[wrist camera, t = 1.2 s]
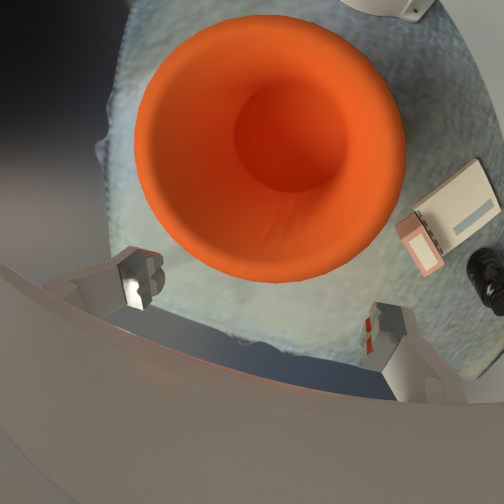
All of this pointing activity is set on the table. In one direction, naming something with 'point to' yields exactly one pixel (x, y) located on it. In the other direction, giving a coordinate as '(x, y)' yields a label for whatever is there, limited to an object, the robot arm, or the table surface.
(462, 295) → the table surface
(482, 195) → the cream flat block
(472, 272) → the supplement bottle
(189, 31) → the table surface
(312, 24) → the flowerpot
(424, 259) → the pink box
